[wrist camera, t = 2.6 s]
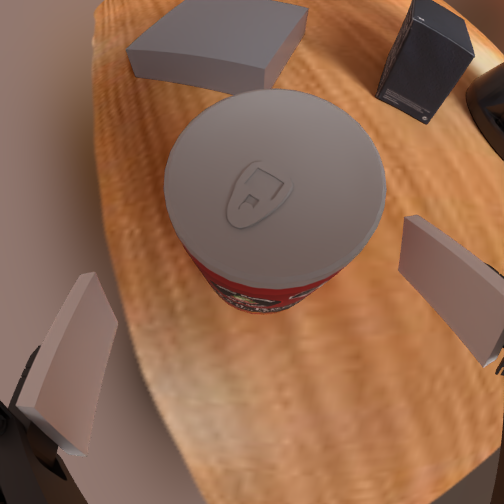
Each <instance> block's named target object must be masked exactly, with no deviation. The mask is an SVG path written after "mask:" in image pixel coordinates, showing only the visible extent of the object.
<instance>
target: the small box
mask: <svg viewBox="0 0 504 504" xmlns="http://www.w3.org/2000/svg"><path fill="white" fill-rule="evenodd" d="M474 57H475V54H474V50H473V47H472V44H471V40H470V37H469V34H468V31H467V27H466V24H465V21H464V20H463V19H462V18H460V17H459V16H457V15H456V14H454V13H452V12H451V11H449V10H448V9H446V8H444V7H443V6H441V5H439V4H437V3H436V2H434V1H432V0H412V2H411V5H410V8H409V10H408V13H407V15H406V18H405V20H404V22H403V24H402V27H401V29H400V31H399V33H398V36H397V38H396V40H395V42H394V44H393V47H392V49H391V51H390V52H389V55H388V58H387V61H386V64H385V67H384V70H383V73H382V75H381V79H380V82H379V85H378V89H377V92H376V95H375V97H376V98H378V99H380V100H382V101H385V102H386V103H388V104H390V105H392V106H394V107H396V108H398V109H400V110H402V111H404V112H405V113H407V114H409V115H411V116H412V117H414V118H416V119H417V120H419V121H421V122H423V123H425V124H428V123H429V121H430V120H431V118H432V117H433V116H434V114H435V113H436V112H437V110H438V109H439V107H440V106H441V105H442V103H443V102H444V100H445V99H446V98H447V96H448V95H449V93H450V92H451V90H452V89H453V88H454V86H455V85H456V83H457V82H458V80H459V79H460V77H461V76H462V75H463V73H464V72H465V70H466V69H467V67H468V66H469V64H470V62H471V61H472V60H473V58H474Z"/></svg>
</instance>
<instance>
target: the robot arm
mask: <svg viewBox="0 0 504 504" xmlns="http://www.w3.org/2000/svg"><path fill="white" fill-rule="evenodd" d="M466 100H467V104H468V107H469V110H470V112H471V114H472V116H473V118H474V120H475V122H476V124H477V125H478V127H479V128H480V130H481V132H482V133H483V135H484V136H485V137H486V139H487V140H488V142H489V143H490V144H491V146H492V147H493V148H494V149H495V151H496V152H497V153H498V154H499V155H500V156H501V157H502V159H503V160H504V62H503V63H501V64H500V65H498V66H496V67H495V68H493V69H491V70H489V71H488V72H486V73H484V74H483V75H481V76H479V77H478V78H476V79H475V80H474V81H473V83H472V84H471V86H470V87H469V88H468V90H467V92H466ZM398 271H399V272H400V273H401V274H402V275H403V276H404V277H405V278H406V279H407V280H408V281H409V282H410V284H411V285H412V286H413V287H414V288H415V289H416V290H417V291H418V292H419V293H420V294H421V295H422V296H423V297H424V298H425V300H426V301H427V302H428V303H429V304H430V305H431V306H432V307H433V308H434V309H435V311H436V312H437V313H438V314H439V315H440V316H441V317H442V318H443V320H444V321H445V322H446V323H447V324H448V325H449V326H450V328H451V329H452V330H453V331H454V332H455V334H456V335H457V336H458V337H459V338H460V339H461V341H462V342H463V343H464V344H465V345H466V347H467V348H468V349H469V350H470V352H471V353H472V354H473V355H474V357H475V358H476V359H477V360H478V362H479V363H480V364H481V365H482V367H485V366H486V365H488V364H490V363H491V362H493V361H494V360H496V359H497V357H498V355H499V353H500V351H501V349H502V348H504V276H502V275H501V274H499V272H498V271H496V270H495V269H494V268H493V267H491V266H490V265H488V264H486V263H484V262H482V261H481V260H480V259H479V258H477V257H476V256H475V255H473V254H472V253H471V252H469V251H468V250H467V249H465V248H464V247H463V246H461V245H460V244H459V243H457V242H456V241H455V240H453V239H452V238H450V237H449V236H448V235H446V234H445V233H443V232H442V231H441V230H439V229H438V228H436V227H435V226H433V225H432V224H430V223H429V222H427V221H426V220H425V219H423V218H422V217H420V216H418V215H413V216H407V217H404V226H403V236H402V245H401V253H400V261H399V268H398ZM117 327H118V321H117V319H116V317H115V315H114V313H113V311H112V309H111V307H110V304H109V302H108V300H107V298H106V295H105V293H104V291H103V289H102V286H101V284H100V282H99V279H98V277H97V274H96V272H90V273H85V274H80V276H79V277H78V279H77V281H76V282H75V284H74V286H73V287H72V289H71V291H70V292H69V294H68V296H67V298H66V300H65V301H64V303H63V305H62V307H61V308H60V310H59V312H58V314H57V316H56V318H55V320H54V322H53V323H52V325H51V327H50V329H49V331H48V333H47V335H46V337H45V339H44V341H43V343H42V345H41V346H38V348H37V349H36V350H35V351H34V352H33V353H32V355H31V356H30V358H29V360H28V362H27V364H26V369H24V371H23V373H22V375H21V376H22V378H20V380H19V382H18V384H17V387H16V389H15V392H14V394H13V397H12V399H11V401H10V404H9V407H8V408H7V407H6V406H5V405H4V404H3V403H2V402H1V401H0V504H88V503H87V501H86V500H85V498H84V496H83V495H82V493H81V492H80V490H79V488H78V487H77V485H76V483H75V482H74V480H73V478H72V476H71V475H70V473H69V471H68V469H67V467H66V466H65V464H64V462H63V460H62V459H61V457H60V456H59V455H58V454H57V449H58V446H59V447H60V448H61V449H63V450H64V451H65V452H66V453H68V454H70V455H77V456H86V457H87V454H88V448H89V442H90V437H91V431H92V426H93V421H94V416H95V412H96V407H97V402H98V398H99V394H100V389H101V385H102V381H103V377H104V373H105V369H106V365H107V362H108V357H109V354H110V351H111V347H112V344H113V340H114V337H115V333H116V330H117ZM502 367H504V357H503V359H502V361H501V362H500V364H499V366H498V367H497V369H496V373H495V374H496V375H498V373H499V371H500V370H501V368H502ZM501 375H503V376H504V370H503V371H502V373H501ZM490 504H504V415H503V430H502V440H501V449H500V457H499V463H498V469H497V475H496V480H495V485H494V490H493V495H492V498H491V503H490Z"/></svg>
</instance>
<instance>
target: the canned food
mask: <svg viewBox="0 0 504 504" xmlns="http://www.w3.org/2000/svg"><path fill="white" fill-rule="evenodd" d="M164 195H165V201H166V207H167V211H168V213H169V217H170V220H171V222H172V225H173V227H174V229H175V232H176V234H177V236H178V238H179V239H180V241H181V242H182V244H183V246H184V248H185V249H186V251H187V252H188V254H189V255H190V257H191V258H192V259H193V261H194V262H195V264H196V265H197V267H198V268H199V269H200V271H201V272H202V274H203V275H204V277H205V278H206V279H207V281H208V282H209V284H210V285H211V286H212V288H213V289H214V290H215V292H216V293H217V294H218V295H219V297H220V298H222V299H223V300H224V301H225V302H226V303H228V304H229V305H231V306H233V307H234V308H236V309H238V310H241V311H244V312H247V313H251V314H263V315H264V314H272V313H277V312H280V311H283V310H286V309H288V308H290V307H292V306H294V305H295V304H297V303H299V302H300V301H301V300H303V299H304V298H305V297H307V296H308V295H310V294H311V293H312V292H314V291H315V290H316V289H318V288H319V287H320V286H322V285H323V284H324V283H326V282H327V281H328V280H330V279H331V278H332V277H334V276H335V275H336V274H338V273H339V272H340V271H341V270H342V269H343V268H344V267H345V266H347V265H348V264H349V263H350V262H351V261H352V260H353V259H354V258H355V257H356V256H357V255H358V254H359V253H360V252H361V251H362V249H363V248H364V246H365V245H366V244H367V242H368V241H369V239H370V238H371V236H372V235H373V233H374V232H375V230H376V228H377V227H378V224H379V221H380V219H381V216H382V213H383V210H384V205H385V197H386V180H385V171H384V168H383V164H382V161H381V158H380V155H379V153H378V151H377V149H376V147H375V145H374V143H373V141H372V140H371V138H370V137H369V135H368V134H367V133H366V132H365V130H364V129H363V128H362V127H361V125H360V124H359V123H358V122H357V121H355V120H354V119H353V118H352V117H351V116H350V115H349V114H347V113H346V112H345V111H343V110H342V109H340V108H339V107H337V106H335V105H334V104H332V103H331V102H328V101H326V100H324V99H321V98H319V97H317V96H314V95H311V94H307V93H303V92H299V91H295V90H286V89H258V90H253V91H248V92H243V93H239V94H236V95H233V96H231V97H228V98H225V99H223V100H221V101H219V102H217V103H215V104H214V105H212V106H210V107H208V108H207V109H205V110H204V111H203V112H202V113H200V114H199V115H198V116H197V117H195V118H194V119H193V120H192V121H191V122H190V123H189V124H188V126H187V127H186V128H185V129H184V130H183V131H182V133H181V134H180V135H179V137H178V139H177V140H176V142H175V144H174V146H173V148H172V150H171V151H170V155H169V158H168V161H167V165H166V168H165V176H164Z"/></svg>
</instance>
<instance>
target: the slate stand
mask: <svg viewBox="0 0 504 504" xmlns="http://www.w3.org/2000/svg"><path fill="white" fill-rule="evenodd" d="M308 10H309V8H306V7H301V6H297V5H293V4H288V3H283V2H278V1H272V0H185V1H183V2H182V3H180V4H179V5H178V6H176V7H175V8H174V9H172V10H171V11H170V12H169V13H167V14H166V15H165V16H163V17H162V18H161V19H160V20H158V21H157V22H156V23H155V24H154V25H152V26H151V27H150V28H149V29H148V30H146V31H145V32H144V33H143V34H142V35H141V36H140V37H138V38H137V39H136V40H135V41H134V42H133V43H132V44H131V45H130V46H129V47H127V48H126V52H127V55H128V58H129V60H130V63H131V66H132V69H133V71H134V74H135V77H139V78H147V79H154V80H161V81H167V82H173V83H179V84H185V85H190V86H196V87H201V88H205V89H210V90H215V91H219V92H224V93H228V94H232V95H236V94H239V93H243V92H248V91H253V90H258V89H271V88H272V86H273V85H274V83H275V81H276V80H277V78H278V76H279V75H280V73H281V71H282V70H283V68H284V66H285V65H286V63H287V61H288V60H289V58H290V57H291V55H292V53H293V52H294V50H295V49H296V47H297V45H298V44H299V42H300V41H301V39H302V38H303V36H304V34H305V28H306V22H307V16H308Z"/></svg>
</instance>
